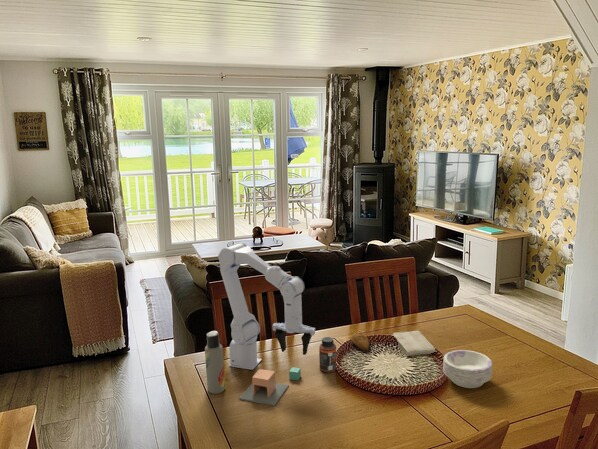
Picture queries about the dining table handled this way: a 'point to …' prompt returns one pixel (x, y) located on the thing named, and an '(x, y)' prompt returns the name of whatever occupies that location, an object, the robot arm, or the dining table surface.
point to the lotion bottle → (214, 363)
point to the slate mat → (264, 394)
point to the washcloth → (413, 343)
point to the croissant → (360, 341)
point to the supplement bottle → (327, 355)
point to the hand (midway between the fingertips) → (294, 352)
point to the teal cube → (295, 373)
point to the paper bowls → (467, 368)
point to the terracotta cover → (264, 381)
